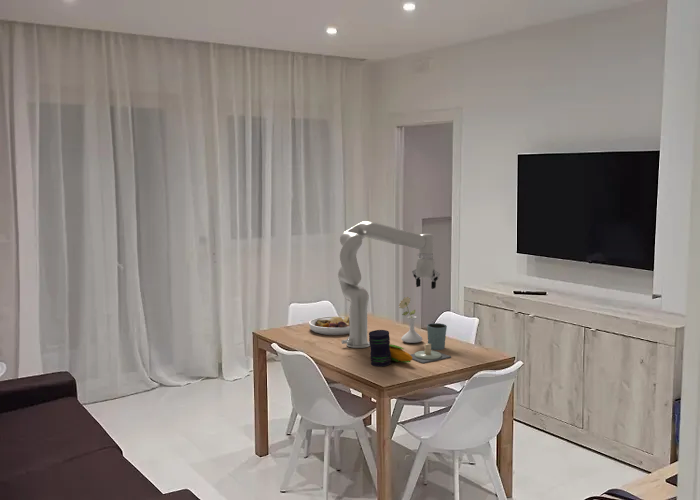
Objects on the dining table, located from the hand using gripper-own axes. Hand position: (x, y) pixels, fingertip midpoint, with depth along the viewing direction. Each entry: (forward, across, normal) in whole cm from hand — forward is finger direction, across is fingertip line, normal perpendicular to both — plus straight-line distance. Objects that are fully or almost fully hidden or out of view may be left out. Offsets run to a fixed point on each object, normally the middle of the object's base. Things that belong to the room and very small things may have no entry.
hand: (425, 287), depth 362 cm
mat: (+28, +21, -32) cm, 47 cm away
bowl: (+29, -52, -15) cm, 62 cm away
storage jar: (+28, +10, -55) cm, 62 cm away
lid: (+28, +21, -32) cm, 47 cm away
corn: (+28, +14, -48) cm, 57 cm away
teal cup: (+28, +16, -14) cm, 35 cm away
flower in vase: (+28, -2, -12) cm, 31 cm away
